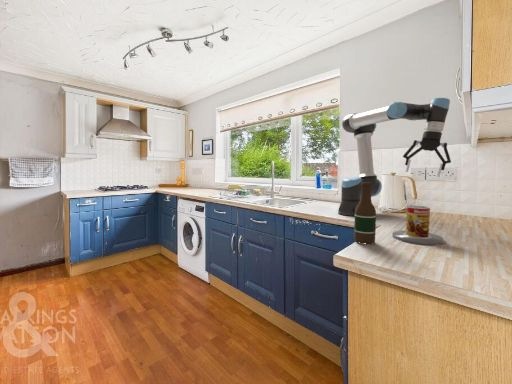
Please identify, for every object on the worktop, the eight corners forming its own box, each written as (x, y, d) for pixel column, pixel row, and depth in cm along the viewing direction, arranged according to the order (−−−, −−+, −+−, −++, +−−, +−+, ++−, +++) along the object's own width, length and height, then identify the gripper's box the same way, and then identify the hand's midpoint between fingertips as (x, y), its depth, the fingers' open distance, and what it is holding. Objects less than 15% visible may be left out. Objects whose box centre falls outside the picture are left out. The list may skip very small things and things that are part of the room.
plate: (386, 238, 104) (386, 235, 104) (399, 230, 117) (399, 228, 117) (439, 248, 92) (439, 244, 92) (446, 238, 105) (447, 235, 105)
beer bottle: (379, 244, 97) (382, 182, 95) (362, 245, 95) (365, 182, 93) (365, 238, 105) (367, 181, 102) (349, 240, 103) (351, 181, 100)
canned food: (417, 238, 100) (419, 208, 99) (401, 233, 107) (402, 206, 106) (433, 237, 102) (434, 207, 101) (416, 232, 109) (417, 205, 108)
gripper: (403, 128, 127) (393, 170, 131) (465, 132, 112) (452, 179, 116) (405, 130, 133) (396, 170, 137) (465, 134, 118) (452, 178, 122)
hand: (422, 174), depth 127 cm, fingers open, 13 cm apart
